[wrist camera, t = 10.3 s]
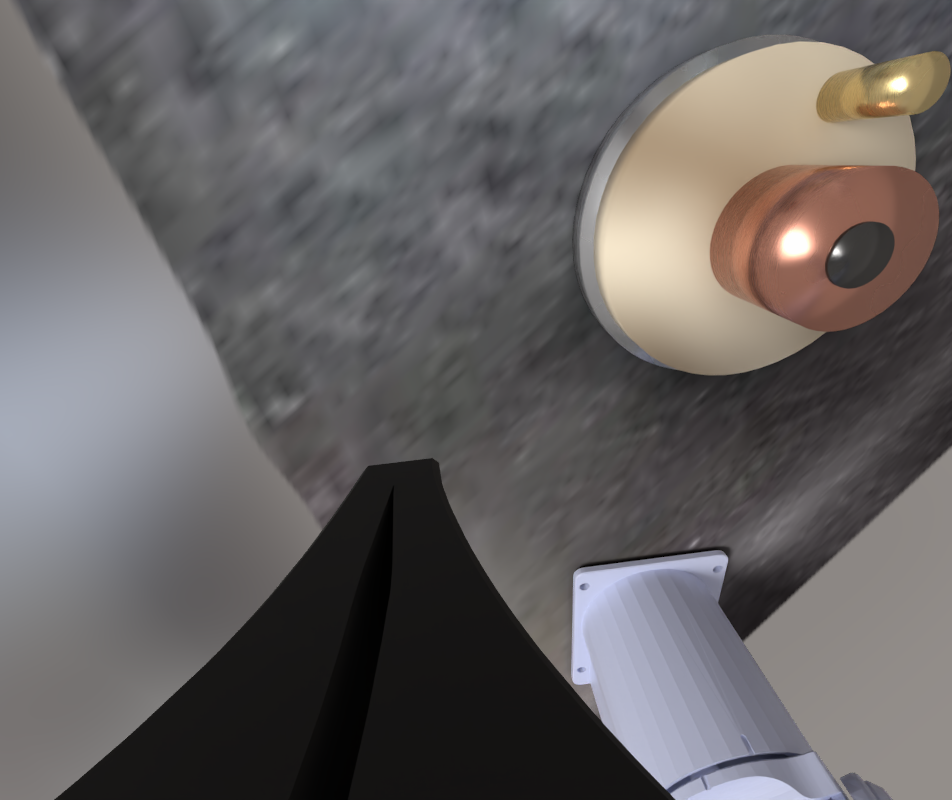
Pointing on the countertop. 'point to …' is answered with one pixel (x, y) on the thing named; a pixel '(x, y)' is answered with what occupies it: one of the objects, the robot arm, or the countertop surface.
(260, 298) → the countertop surface
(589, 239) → the base
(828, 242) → the cover
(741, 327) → the turntable
